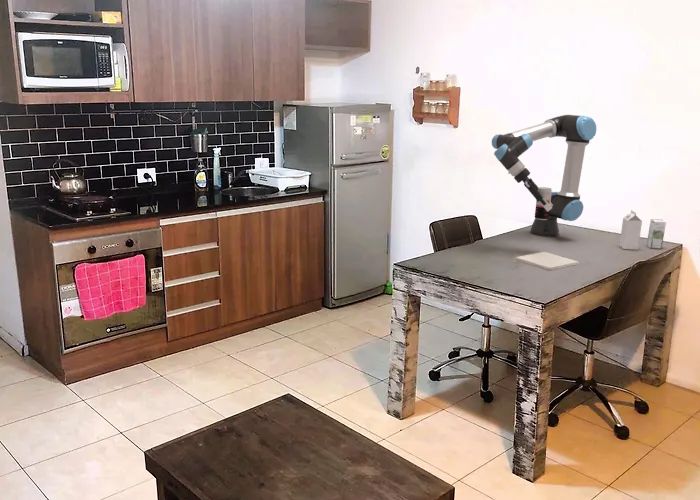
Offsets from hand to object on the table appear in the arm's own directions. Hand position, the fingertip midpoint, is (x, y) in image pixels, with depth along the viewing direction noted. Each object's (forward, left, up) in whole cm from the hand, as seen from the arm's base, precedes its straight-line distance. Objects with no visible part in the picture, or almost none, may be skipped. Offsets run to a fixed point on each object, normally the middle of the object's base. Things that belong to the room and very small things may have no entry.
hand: (550, 208), depth 312 cm
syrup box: (+22, +58, -22) cm, 65 cm away
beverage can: (-3, -2, -6) cm, 7 cm away
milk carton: (+16, +45, -22) cm, 52 cm away
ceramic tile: (+12, -13, -22) cm, 28 cm away
